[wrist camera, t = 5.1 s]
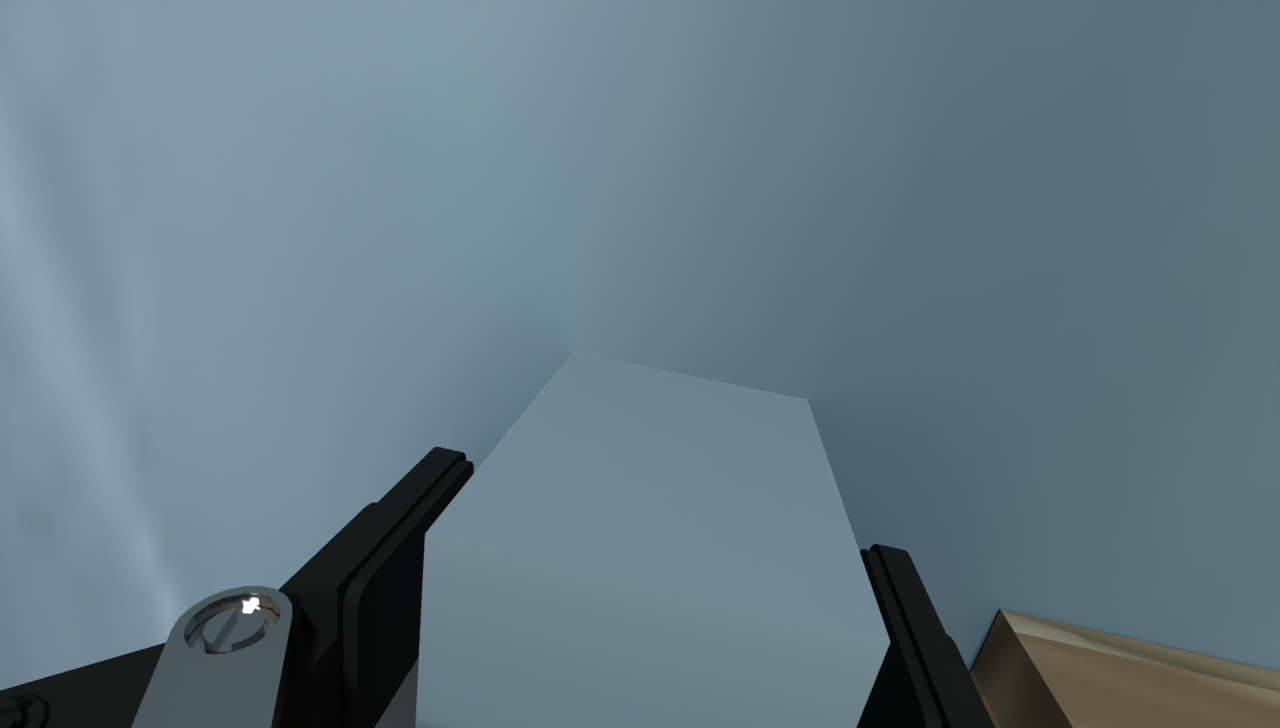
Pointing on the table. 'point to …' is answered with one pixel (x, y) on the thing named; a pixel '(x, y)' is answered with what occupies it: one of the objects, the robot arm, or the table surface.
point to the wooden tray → (1113, 681)
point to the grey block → (648, 566)
